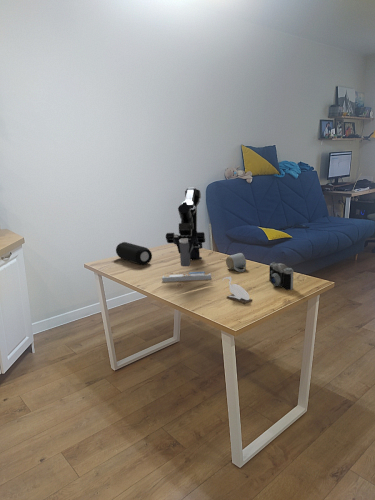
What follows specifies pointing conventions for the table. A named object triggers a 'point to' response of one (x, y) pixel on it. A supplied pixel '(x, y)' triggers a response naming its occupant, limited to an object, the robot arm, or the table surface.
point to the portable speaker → (134, 253)
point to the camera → (281, 276)
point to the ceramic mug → (236, 262)
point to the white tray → (187, 277)
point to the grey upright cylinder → (184, 252)
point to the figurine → (238, 293)
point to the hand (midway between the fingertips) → (184, 252)
